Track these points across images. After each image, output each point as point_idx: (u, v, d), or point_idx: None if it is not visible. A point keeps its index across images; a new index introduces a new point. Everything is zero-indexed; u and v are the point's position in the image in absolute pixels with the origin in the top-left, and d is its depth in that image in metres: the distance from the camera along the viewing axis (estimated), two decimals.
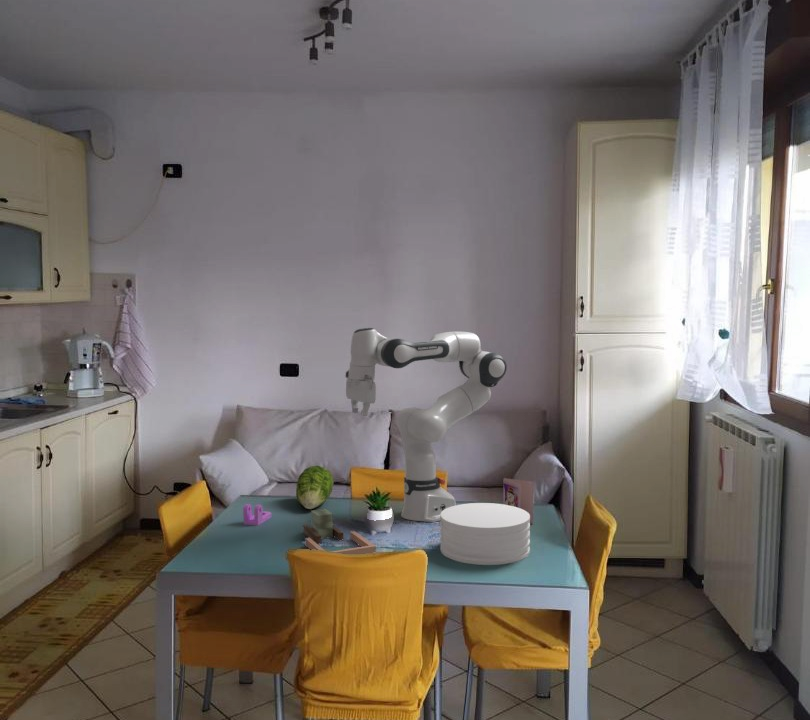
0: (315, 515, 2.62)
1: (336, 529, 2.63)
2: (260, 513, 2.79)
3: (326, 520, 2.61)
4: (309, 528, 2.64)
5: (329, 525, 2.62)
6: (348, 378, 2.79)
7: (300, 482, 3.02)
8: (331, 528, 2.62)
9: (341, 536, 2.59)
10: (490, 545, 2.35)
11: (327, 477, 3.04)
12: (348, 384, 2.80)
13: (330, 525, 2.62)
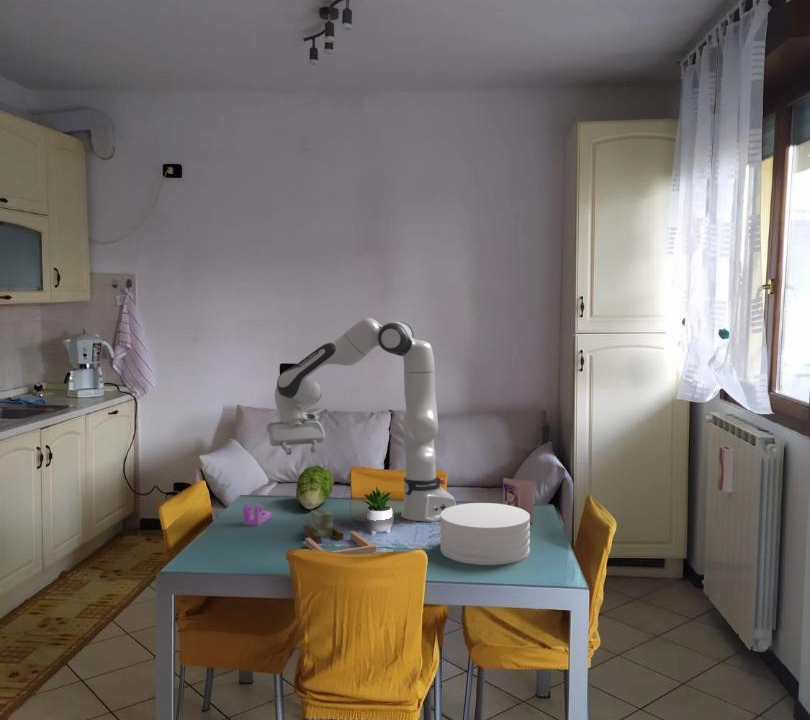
0: (315, 515, 2.62)
1: (336, 529, 2.63)
2: (260, 513, 2.79)
3: (326, 520, 2.61)
4: (309, 528, 2.64)
5: (329, 525, 2.62)
6: None
7: (300, 482, 3.01)
8: (331, 528, 2.62)
9: (341, 536, 2.59)
10: (490, 545, 2.35)
11: (327, 477, 3.04)
12: None
13: (330, 525, 2.62)
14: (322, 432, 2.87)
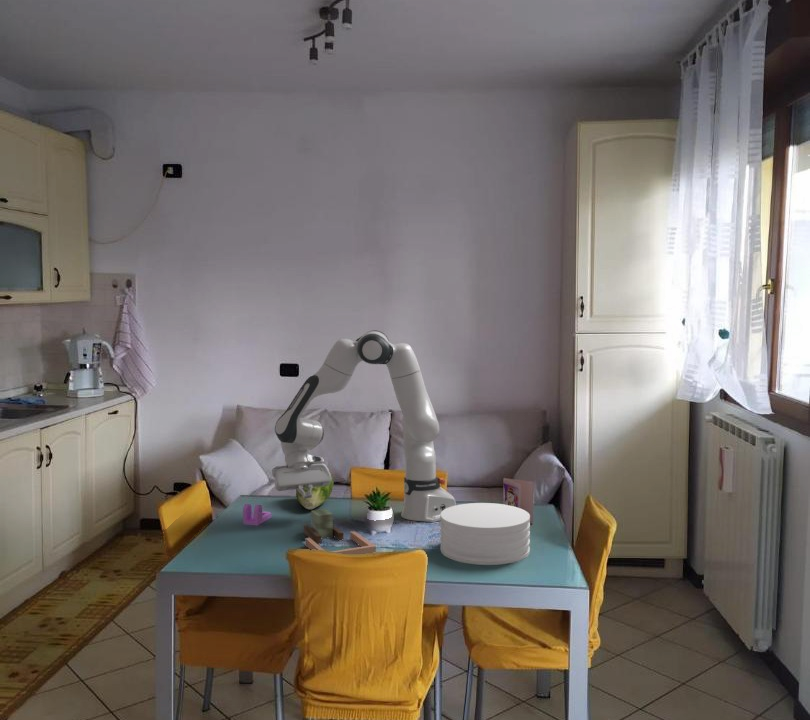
0: (315, 515, 2.62)
1: (336, 529, 2.63)
2: (260, 513, 2.78)
3: (326, 520, 2.61)
4: (309, 528, 2.64)
5: (329, 525, 2.62)
6: None
7: None
8: (331, 528, 2.62)
9: (341, 536, 2.59)
10: (490, 545, 2.35)
11: None
12: None
13: (330, 525, 2.62)
14: (328, 475, 2.83)
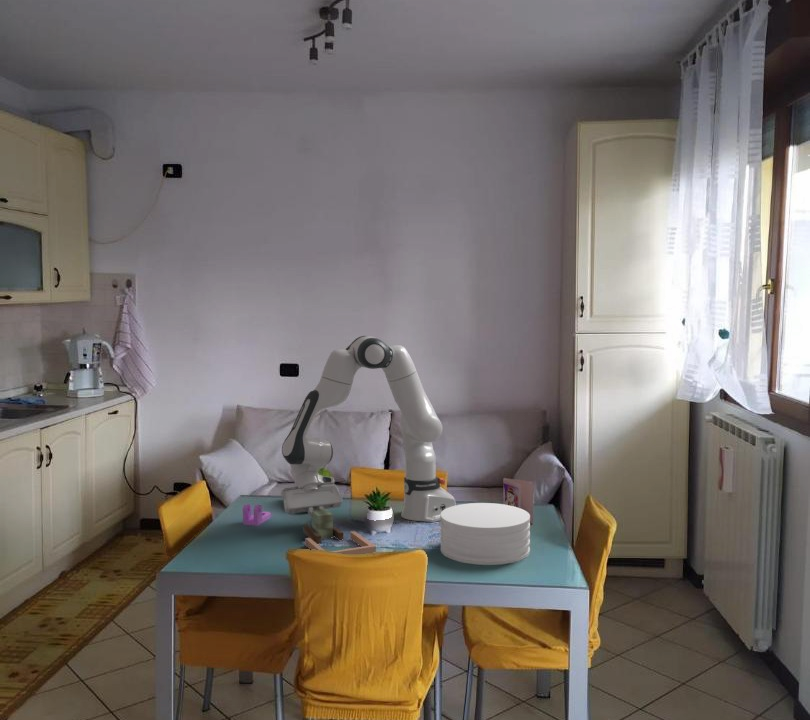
0: (315, 515, 2.62)
1: (336, 529, 2.63)
2: (259, 513, 2.78)
3: (326, 521, 2.61)
4: (309, 528, 2.64)
5: (329, 525, 2.61)
6: None
7: None
8: (331, 528, 2.62)
9: (341, 536, 2.59)
10: (490, 545, 2.35)
11: None
12: None
13: (330, 525, 2.61)
14: (339, 496, 2.74)
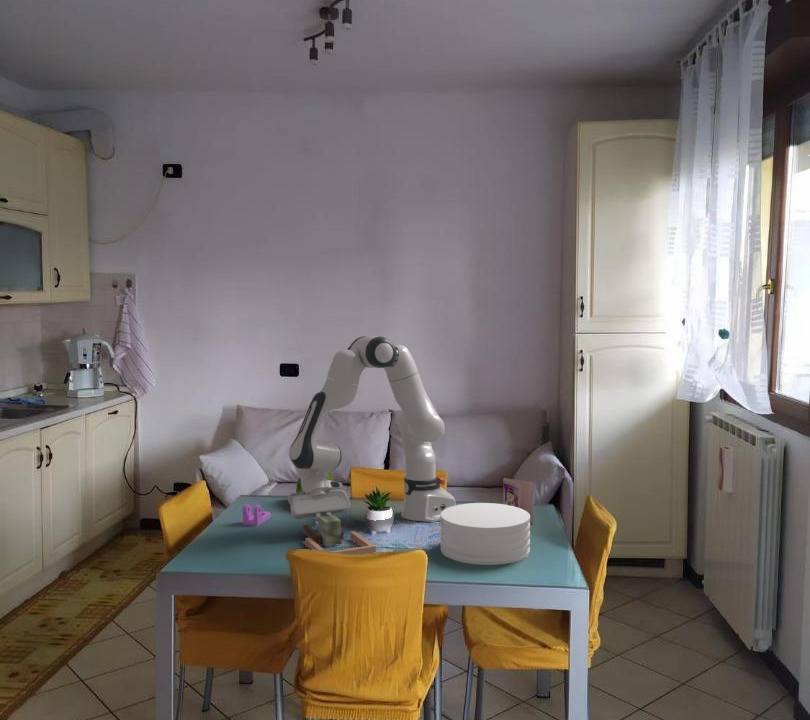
0: (323, 521, 2.55)
1: None
2: (259, 513, 2.78)
3: (334, 527, 2.53)
4: (309, 528, 2.64)
5: (337, 532, 2.54)
6: None
7: (300, 483, 3.01)
8: (339, 535, 2.54)
9: (341, 536, 2.59)
10: (490, 545, 2.35)
11: (327, 478, 3.04)
12: None
13: (338, 532, 2.54)
14: (347, 502, 2.67)
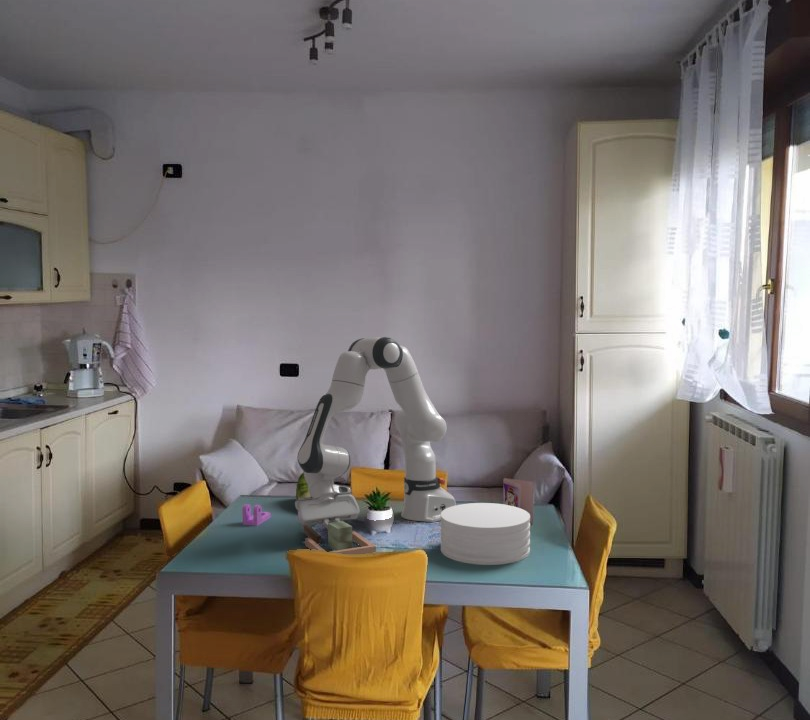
0: (334, 528, 2.48)
1: None
2: (259, 513, 2.78)
3: (346, 533, 2.47)
4: (309, 528, 2.64)
5: (348, 538, 2.48)
6: None
7: (300, 483, 3.01)
8: (351, 541, 2.48)
9: None
10: (490, 545, 2.35)
11: None
12: None
13: (350, 538, 2.48)
14: (356, 507, 2.60)
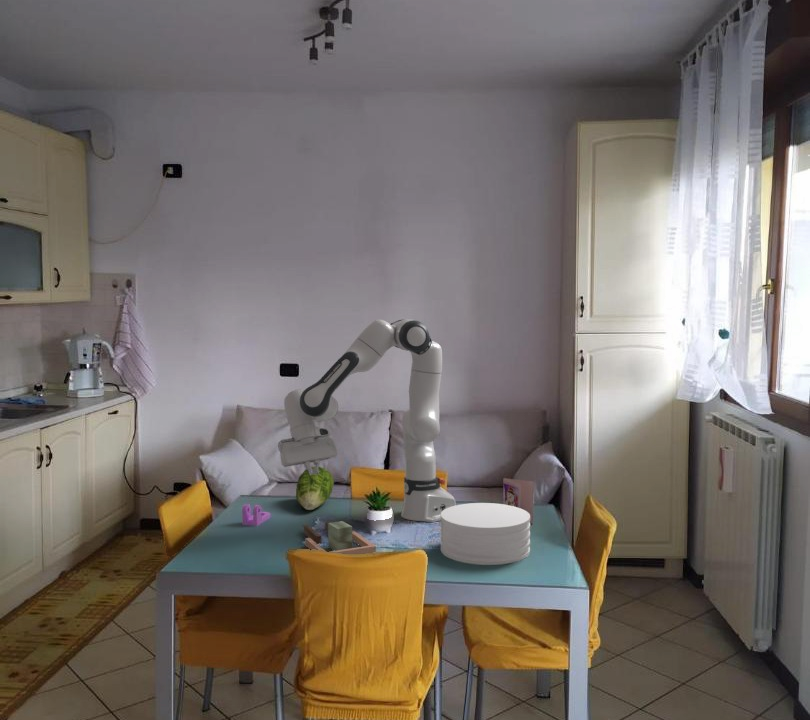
0: (334, 528, 2.48)
1: None
2: (259, 513, 2.78)
3: (346, 533, 2.47)
4: (309, 528, 2.64)
5: (348, 538, 2.48)
6: None
7: (300, 483, 3.00)
8: (351, 541, 2.48)
9: None
10: (490, 545, 2.35)
11: (327, 478, 3.03)
12: None
13: (350, 538, 2.48)
14: (335, 449, 2.74)
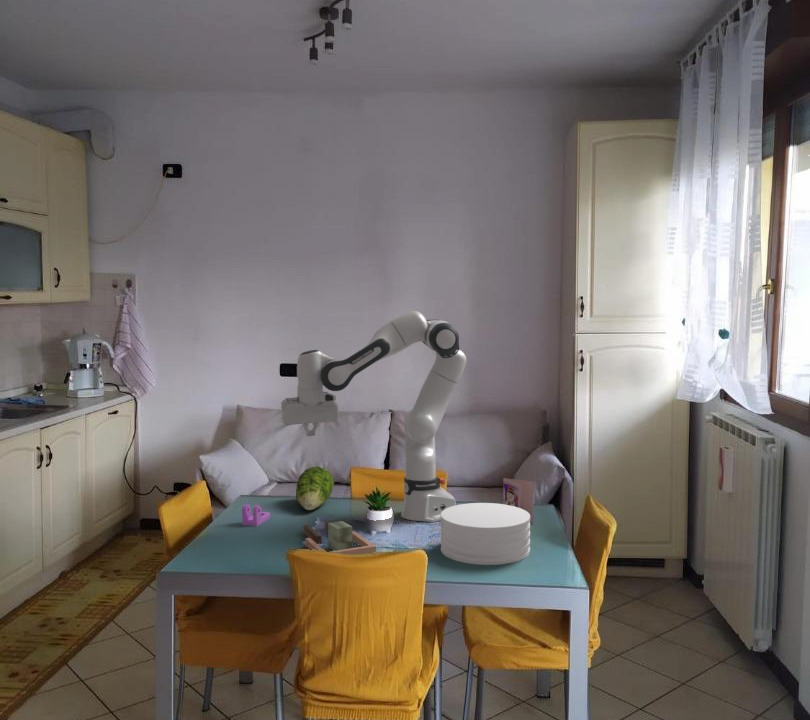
0: (334, 528, 2.48)
1: None
2: (259, 513, 2.78)
3: (346, 533, 2.47)
4: (309, 528, 2.64)
5: (348, 538, 2.48)
6: None
7: (300, 483, 3.00)
8: (351, 541, 2.48)
9: None
10: (490, 545, 2.35)
11: (327, 478, 3.03)
12: None
13: (350, 538, 2.48)
14: (336, 415, 2.79)
